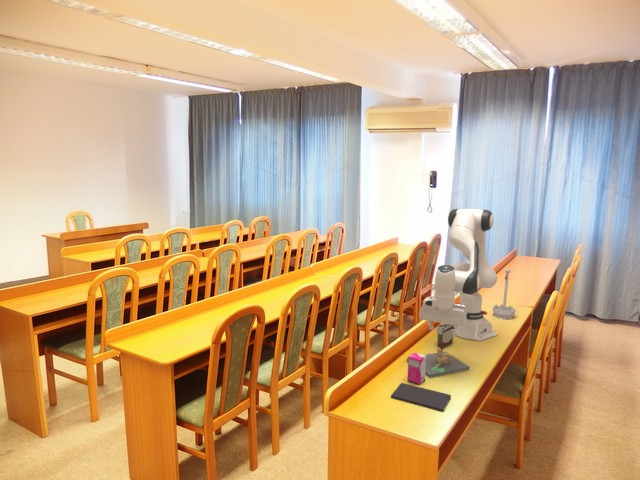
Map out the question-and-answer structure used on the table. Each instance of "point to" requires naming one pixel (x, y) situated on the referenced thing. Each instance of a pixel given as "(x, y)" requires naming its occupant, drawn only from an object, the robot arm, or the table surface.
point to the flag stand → (504, 303)
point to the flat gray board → (443, 366)
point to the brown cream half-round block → (444, 335)
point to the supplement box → (416, 368)
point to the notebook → (421, 396)
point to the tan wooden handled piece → (442, 358)
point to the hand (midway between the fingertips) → (442, 331)
